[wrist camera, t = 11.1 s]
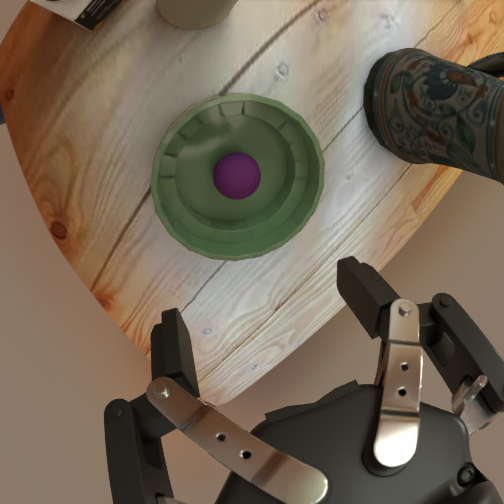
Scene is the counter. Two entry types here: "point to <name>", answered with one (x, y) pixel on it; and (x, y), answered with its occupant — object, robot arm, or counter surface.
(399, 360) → the robot arm
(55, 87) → the counter surface
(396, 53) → the beer stein
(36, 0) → the medicine bottle
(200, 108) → the green bowl
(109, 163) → the counter surface
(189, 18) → the travel mug
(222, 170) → the ball
